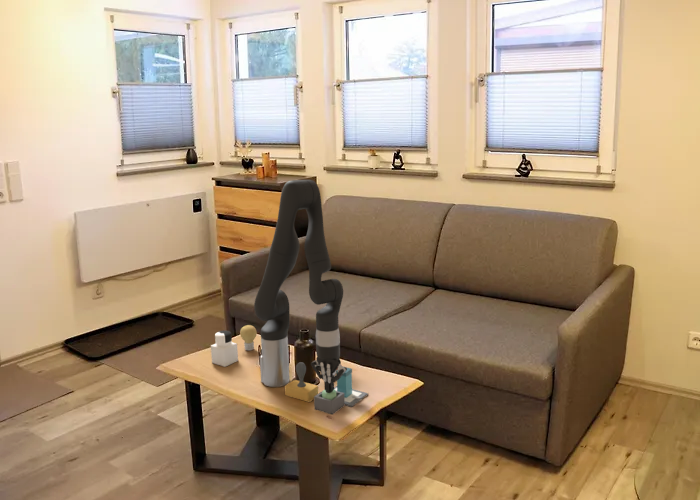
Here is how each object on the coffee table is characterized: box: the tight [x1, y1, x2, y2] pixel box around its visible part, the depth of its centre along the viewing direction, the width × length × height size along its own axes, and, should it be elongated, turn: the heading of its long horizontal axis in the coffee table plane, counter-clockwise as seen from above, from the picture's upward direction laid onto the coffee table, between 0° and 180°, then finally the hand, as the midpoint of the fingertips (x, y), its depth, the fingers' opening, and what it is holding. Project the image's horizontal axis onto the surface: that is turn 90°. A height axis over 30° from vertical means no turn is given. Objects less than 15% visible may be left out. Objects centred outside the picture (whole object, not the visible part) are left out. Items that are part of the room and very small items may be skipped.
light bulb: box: [239, 324, 257, 352], centre depth 260 cm, size 6×6×10 cm
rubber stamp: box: [284, 361, 319, 403], centre depth 220 cm, size 10×6×12 cm, turn 58°
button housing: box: [313, 388, 346, 415], centre depth 212 cm, size 7×7×4 cm
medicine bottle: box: [210, 330, 239, 368], centre depth 248 cm, size 7×7×12 cm
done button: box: [321, 389, 336, 400], centre depth 211 cm, size 5×5×4 cm
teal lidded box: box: [335, 366, 353, 398], centre depth 218 cm, size 4×4×9 cm
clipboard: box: [334, 385, 368, 407], centre depth 220 cm, size 12×10×1 cm
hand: (329, 391), depth 211 cm, fingers closed
